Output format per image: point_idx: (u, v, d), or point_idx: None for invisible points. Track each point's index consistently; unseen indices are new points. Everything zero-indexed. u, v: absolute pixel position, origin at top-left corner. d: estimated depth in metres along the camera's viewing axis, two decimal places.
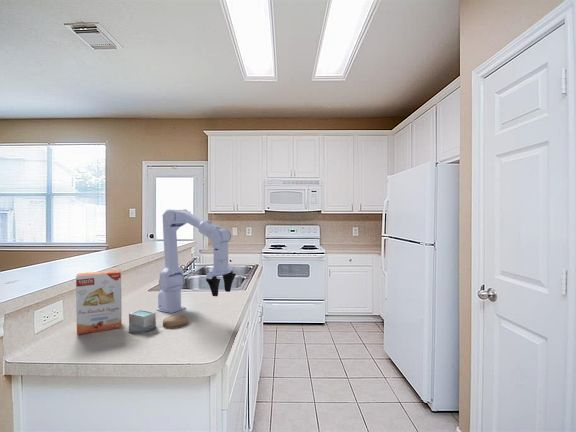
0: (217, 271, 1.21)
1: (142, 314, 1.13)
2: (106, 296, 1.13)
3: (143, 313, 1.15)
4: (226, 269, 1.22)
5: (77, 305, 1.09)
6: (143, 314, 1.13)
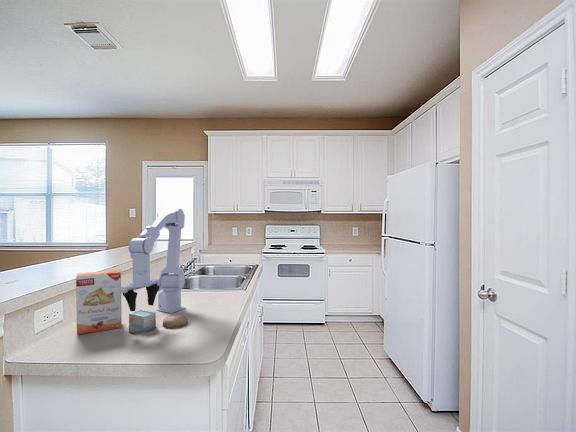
0: (135, 284, 1.12)
1: (142, 314, 1.14)
2: (106, 296, 1.13)
3: (143, 313, 1.15)
4: (146, 281, 1.13)
5: (77, 305, 1.09)
6: (143, 314, 1.14)
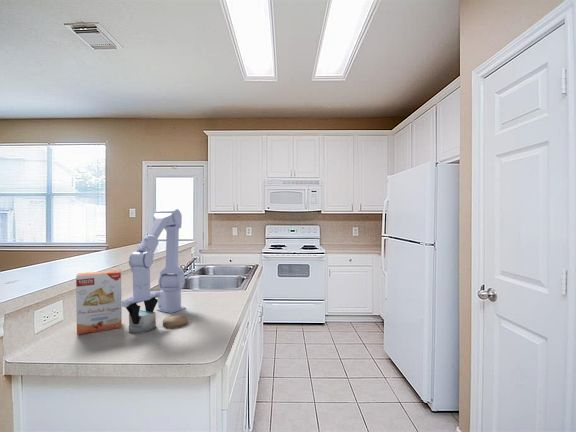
0: (135, 298, 1.12)
1: (142, 314, 1.14)
2: (106, 296, 1.13)
3: (143, 313, 1.15)
4: (146, 295, 1.13)
5: (77, 305, 1.09)
6: (143, 314, 1.14)
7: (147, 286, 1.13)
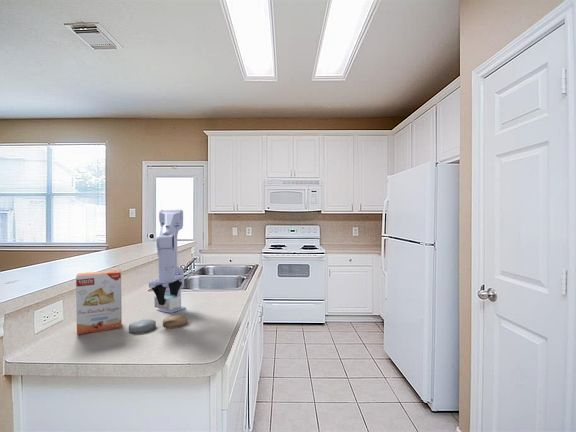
0: (161, 279, 1.15)
1: (167, 297, 1.17)
2: (106, 296, 1.13)
3: (167, 296, 1.18)
4: (171, 277, 1.17)
5: (77, 305, 1.09)
6: (168, 297, 1.17)
7: (172, 268, 1.17)
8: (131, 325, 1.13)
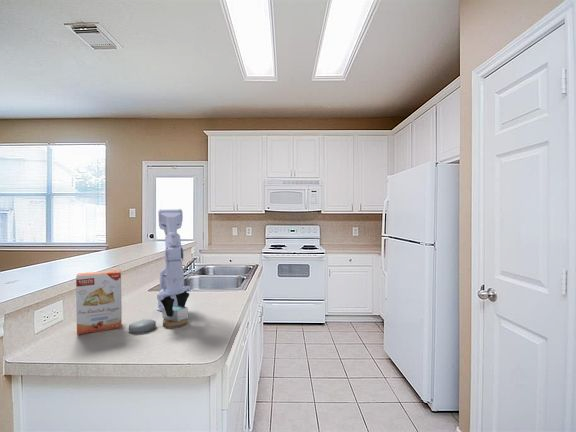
0: (169, 291, 1.16)
1: (175, 309, 1.18)
2: (106, 296, 1.13)
3: (175, 308, 1.19)
4: (179, 289, 1.18)
5: (77, 305, 1.09)
6: (176, 309, 1.18)
7: (180, 280, 1.18)
8: (131, 325, 1.13)
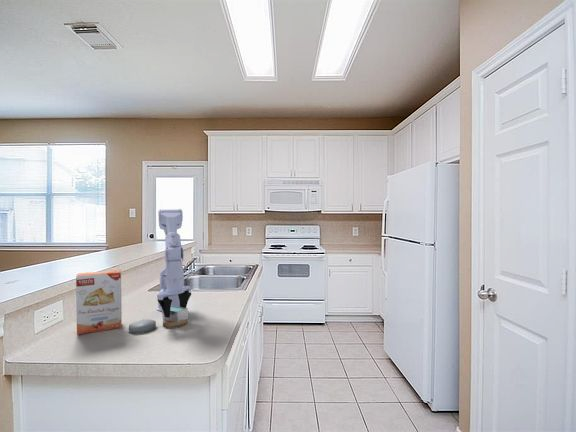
0: (169, 291, 1.16)
1: (175, 310, 1.18)
2: (106, 296, 1.13)
3: (175, 309, 1.19)
4: (179, 289, 1.18)
5: (77, 305, 1.09)
6: (176, 310, 1.18)
7: (180, 280, 1.18)
8: (131, 325, 1.13)
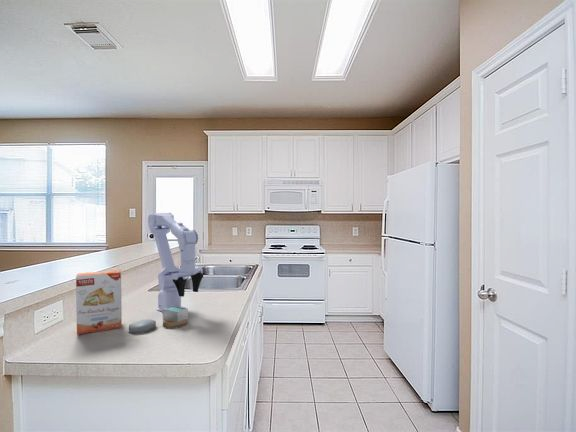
0: (184, 272, 1.24)
1: (175, 310, 1.18)
2: (106, 296, 1.13)
3: (176, 309, 1.19)
4: (193, 270, 1.25)
5: (77, 305, 1.09)
6: (176, 310, 1.18)
7: (193, 262, 1.25)
8: (131, 325, 1.13)
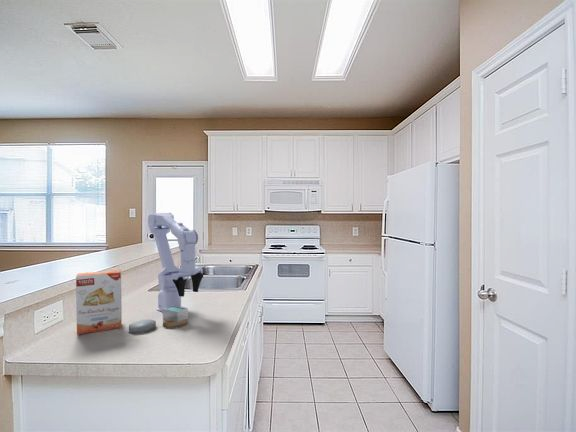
0: (184, 272, 1.24)
1: (175, 310, 1.18)
2: (106, 296, 1.13)
3: (176, 309, 1.19)
4: (193, 270, 1.25)
5: (77, 305, 1.09)
6: (176, 310, 1.18)
7: (193, 262, 1.25)
8: (131, 325, 1.13)
